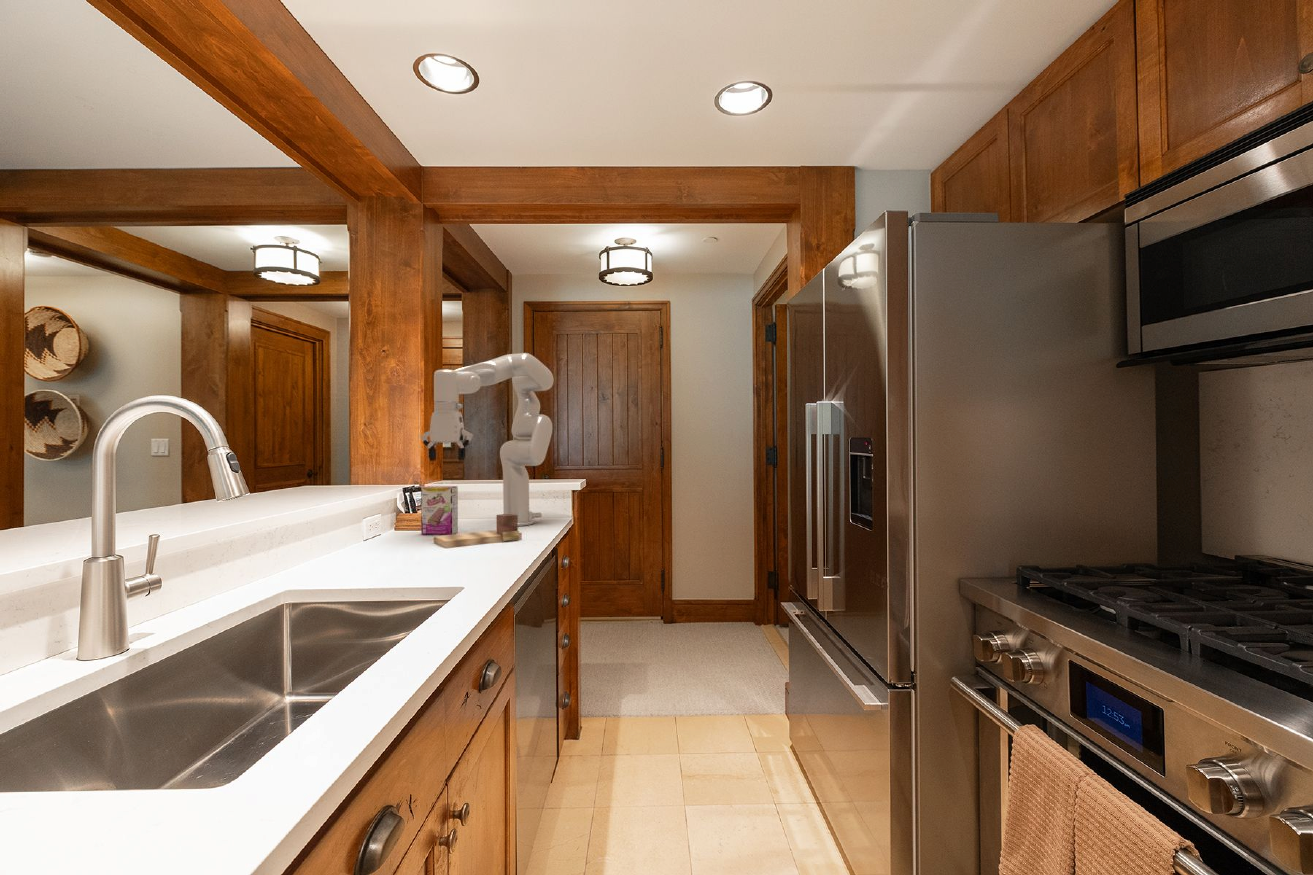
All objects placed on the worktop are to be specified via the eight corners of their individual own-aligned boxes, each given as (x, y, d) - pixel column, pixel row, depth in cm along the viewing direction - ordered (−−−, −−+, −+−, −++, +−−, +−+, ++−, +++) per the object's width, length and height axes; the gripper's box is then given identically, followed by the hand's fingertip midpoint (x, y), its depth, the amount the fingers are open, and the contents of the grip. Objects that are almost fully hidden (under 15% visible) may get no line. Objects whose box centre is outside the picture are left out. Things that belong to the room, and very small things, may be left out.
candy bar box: (420, 535, 206) (420, 486, 206) (427, 532, 211) (427, 485, 211) (452, 535, 205) (451, 486, 205) (458, 533, 210) (458, 485, 210)
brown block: (511, 536, 198) (511, 513, 198) (519, 538, 193) (518, 515, 193) (496, 538, 195) (496, 514, 195) (504, 540, 190) (503, 516, 190)
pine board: (506, 534, 204) (506, 528, 204) (521, 539, 195) (521, 533, 195) (433, 542, 190) (433, 536, 190) (445, 548, 181) (445, 541, 181)
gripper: (476, 408, 201) (477, 459, 201) (426, 408, 203) (427, 460, 203) (467, 407, 194) (468, 460, 194) (415, 407, 196) (416, 461, 196)
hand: (447, 460), depth 198 cm, fingers open, 9 cm apart
